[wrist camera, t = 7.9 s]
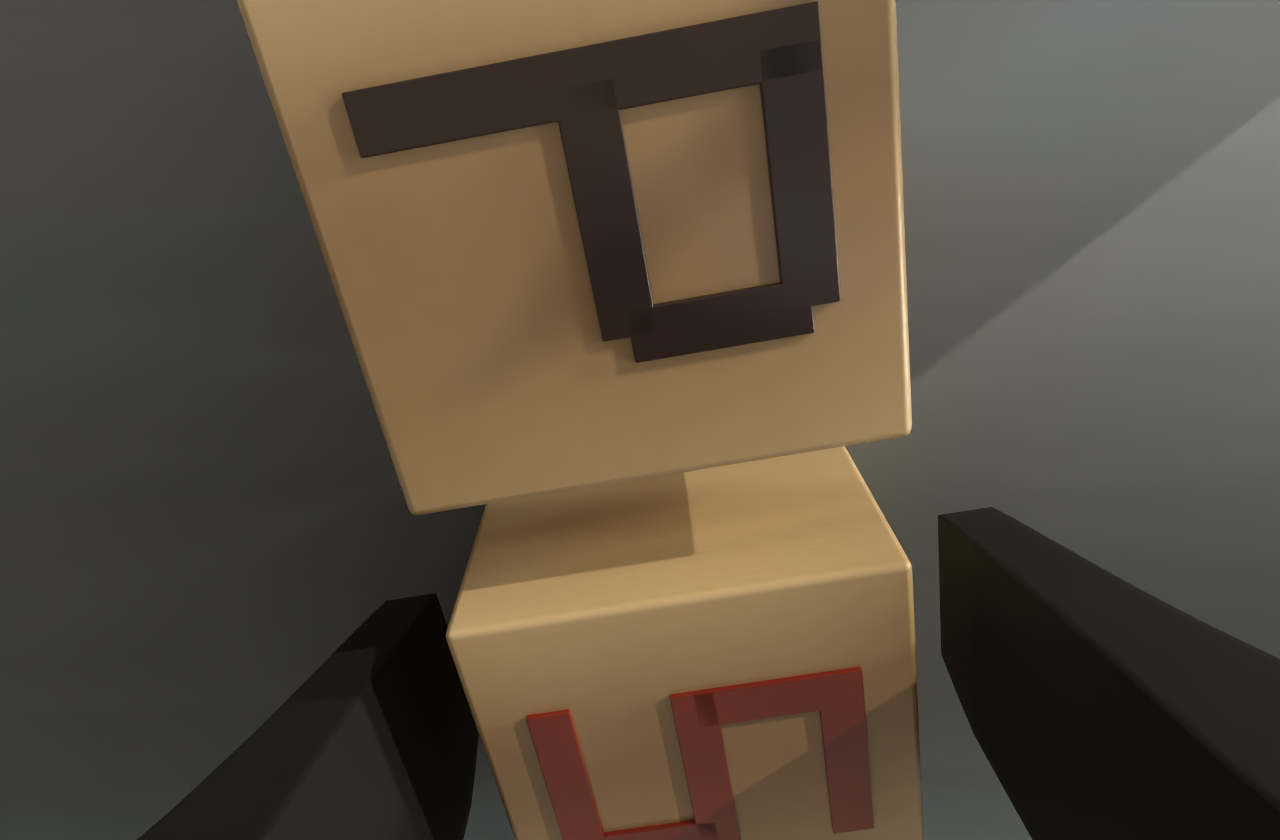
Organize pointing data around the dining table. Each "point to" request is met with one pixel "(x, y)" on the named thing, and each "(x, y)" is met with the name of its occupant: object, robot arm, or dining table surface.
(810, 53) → the tile
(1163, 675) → the robot arm
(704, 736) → the tile
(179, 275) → the dining table surface
